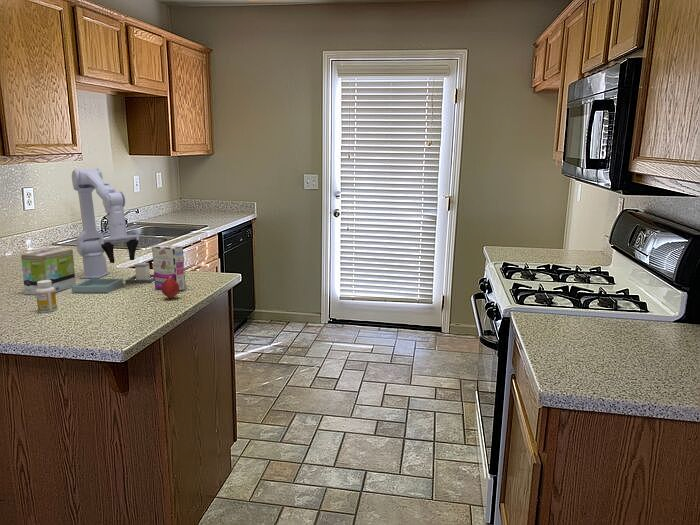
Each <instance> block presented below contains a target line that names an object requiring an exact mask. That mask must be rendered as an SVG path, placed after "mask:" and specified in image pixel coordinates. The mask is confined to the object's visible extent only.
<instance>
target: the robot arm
mask: <svg viewBox="0 0 700 525" xmlns="http://www.w3.org/2000/svg"><path fill="white" fill-rule="evenodd" d="M103 179H104V178H103V173H102V171H101V169H100V168H90V169H89V168H80V169H79V168H78V169H77V168H74V169H73V171H72V173H71V182H72V189H73V190H74V191H77V195H78V199H79V200H78V201H79V208H80V215H81V217H80V218H81V223H82V232H81V233H80V234H79V235H78V236H77V237H76V244H75V245H76V246H75V247H76V252H77V253H78V254H79V256H80V257H82V266H83V275H81V276H80V277H79V278H80V279H101V278H103V277H105V276H107V275H110V272H109V271H108V267H107V264H108V263H107V258H108V261H109V263H110V264H115V262H116V261H115V255H114V247H115V246H114V244H115V243H123V242H126V243H125V244H126V246H127V251H128V257H129V260H130V261H134V260H135V257H136V256H135V255H136V251H137V247H138V245H139V241H140V236H139V234H135V235H134V234H132V235H128V232H127V231H128V230H127V226H126V218H125V211H124V208H125V206H126V198H125V195H124V193H123V192H122V191H116V189H115V188H114V187H113V186H112V185H111V184H110V183H109V182H106V181H104V180H103ZM94 190H95V192H96V195H97V196H98V197H99V198H100V199H101V200H102V205H103V207H104V211H105V214H106V216H107V220H108V221H107V224H108V228H109V236H110V237H105V238H104V235H103V234H102V233H100V232H99V231H97V226H96V216H95V210H94V201H93V194H92V193H93V192H94ZM112 243H113V244H112ZM104 253H105V255H106V256H107V258H106V256H105V255H104Z"/></svg>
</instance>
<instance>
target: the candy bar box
mask: <svg viewBox="0 0 700 525" xmlns="http://www.w3.org/2000/svg"><path fill="white" fill-rule="evenodd" d="M151 250H152V262H153V275H154V279H155V282H154V289H155V290H156V289H158V291H162V285H163V283H164V282H165V281H166V280H167V279H168V278H169V277H170V276H172V279H173V280H175V281H176V282H177V283H178V284H179V292H182V291H186V288H187V287H186V274H185V273H186V272H185V257H184V247H183V246H182V245H181V246H180V245H179V246H178V245H169V244H168V245H167V244H159V245H153V246H152V247H151Z"/></svg>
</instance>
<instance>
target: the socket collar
mask: <svg viewBox="0 0 700 525" xmlns="http://www.w3.org/2000/svg"><path fill="white" fill-rule="evenodd" d="M151 277H153V278H151ZM150 278H151V279H149V280H135V279H136V274H134V275H132V276H131V277H129V278H126V279H125V284H126V285H144V284H143V283H152V282H153V281H155V279H154V274H150ZM129 283H130V284H129ZM131 283H132V284H131ZM134 283H135V284H134ZM141 283H142V284H141ZM153 283H154V282H153ZM153 283H152V284H153Z"/></svg>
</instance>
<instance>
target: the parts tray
mask: <svg viewBox="0 0 700 525" xmlns="http://www.w3.org/2000/svg"><path fill="white" fill-rule="evenodd" d="M122 286H124V280H123V278H87V279H86V280H84V281H81V282H79V283H76V285H74V286H72V287H71V288H70V289H71V294H109V293H111V292H113V291H114V290H116V289H119V288H120V287H122Z"/></svg>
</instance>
